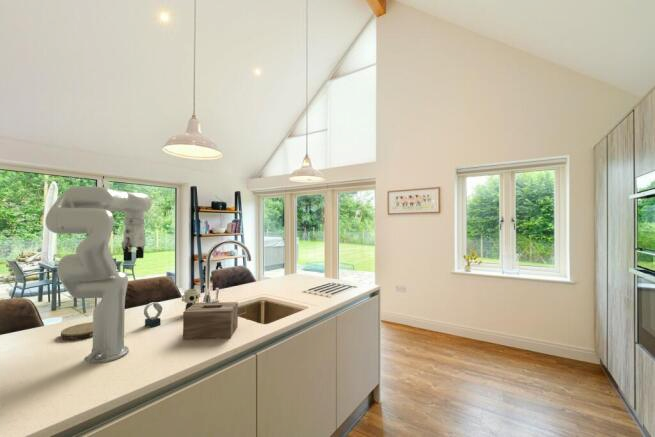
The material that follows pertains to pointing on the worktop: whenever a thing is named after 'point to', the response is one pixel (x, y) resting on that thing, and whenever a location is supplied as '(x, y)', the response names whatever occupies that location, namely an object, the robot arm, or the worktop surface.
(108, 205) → the robot arm
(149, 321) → the watch
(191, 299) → the character mug
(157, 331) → the worktop surface
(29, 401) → the worktop surface
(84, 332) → the round wooden board
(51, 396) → the worktop surface
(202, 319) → the coin box
